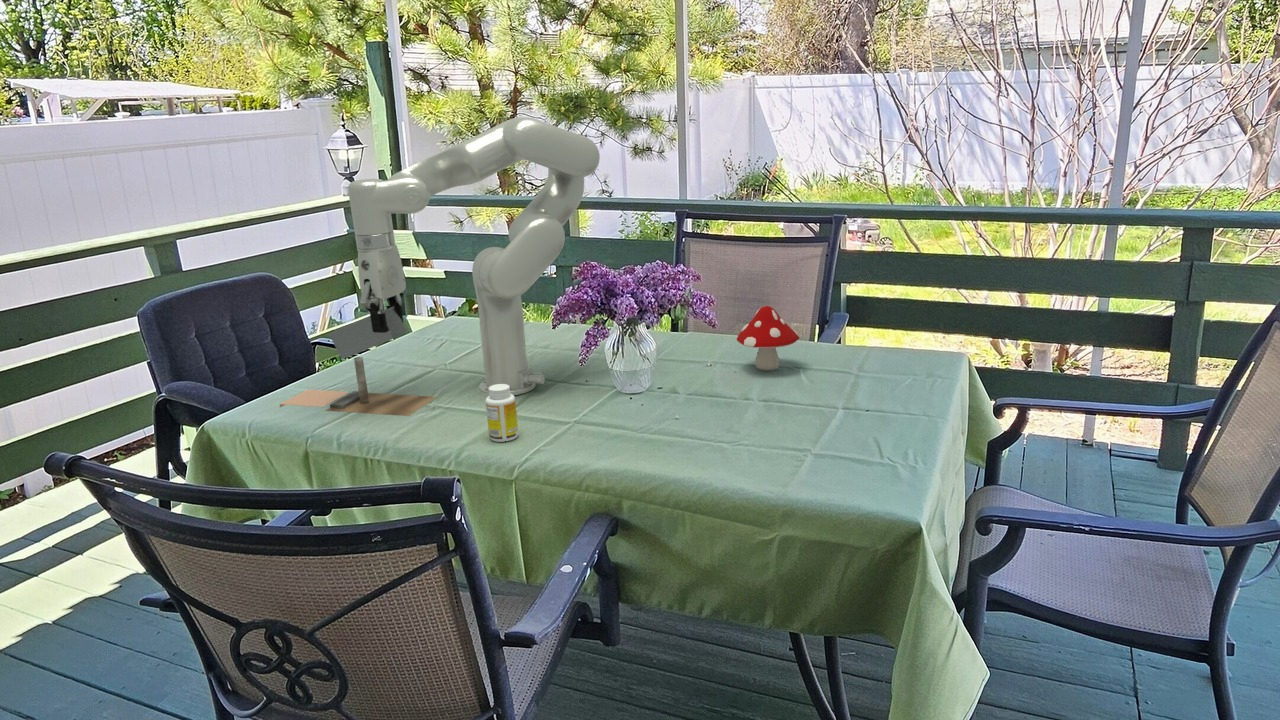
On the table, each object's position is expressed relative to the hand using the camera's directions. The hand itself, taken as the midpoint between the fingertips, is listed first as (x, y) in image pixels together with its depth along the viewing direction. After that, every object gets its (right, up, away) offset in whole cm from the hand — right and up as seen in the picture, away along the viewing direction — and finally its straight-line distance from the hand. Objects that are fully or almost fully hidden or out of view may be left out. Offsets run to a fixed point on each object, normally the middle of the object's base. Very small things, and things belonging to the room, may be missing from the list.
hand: (388, 327), depth 186 cm
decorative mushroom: (+82, -9, +19) cm, 84 cm away
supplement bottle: (+26, -22, -15) cm, 37 cm away
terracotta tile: (-19, -16, +12) cm, 28 cm away
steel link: (-4, -4, +2) cm, 6 cm away
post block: (-3, -17, +6) cm, 18 cm away
